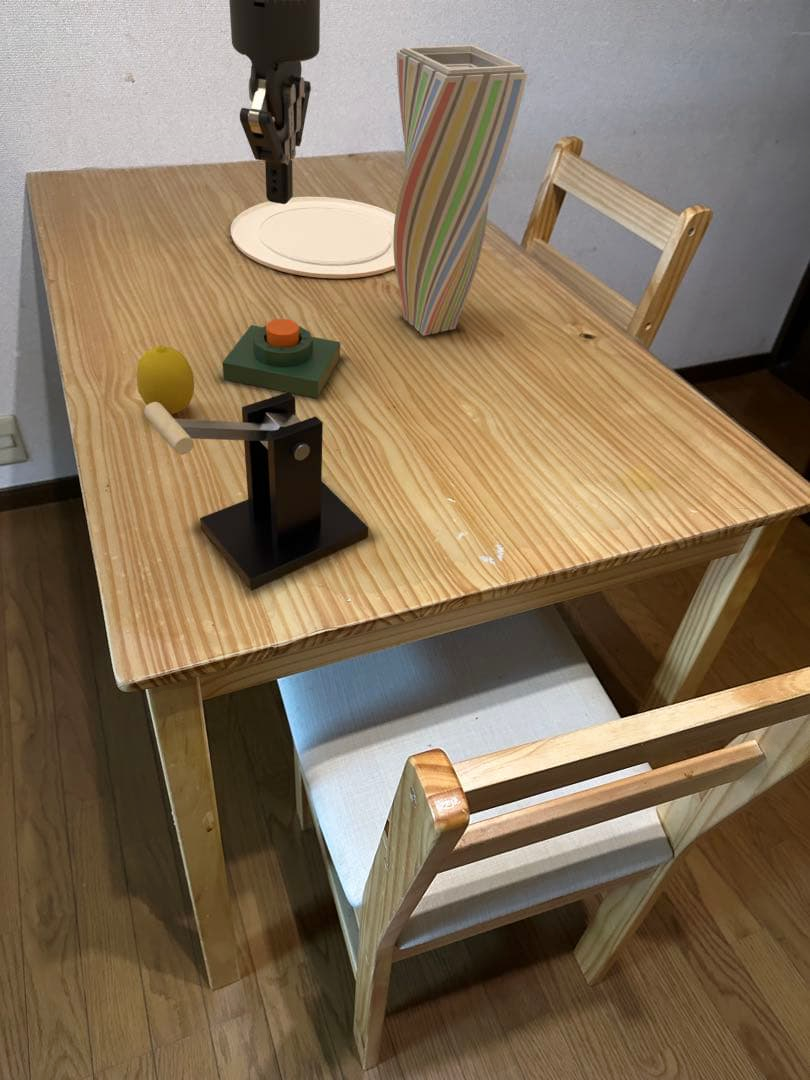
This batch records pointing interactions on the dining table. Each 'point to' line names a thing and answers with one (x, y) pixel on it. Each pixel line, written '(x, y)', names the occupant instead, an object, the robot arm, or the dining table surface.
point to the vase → (448, 172)
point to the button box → (282, 362)
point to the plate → (318, 237)
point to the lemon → (165, 378)
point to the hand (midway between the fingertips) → (279, 200)
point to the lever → (212, 428)
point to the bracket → (282, 503)
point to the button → (282, 333)
